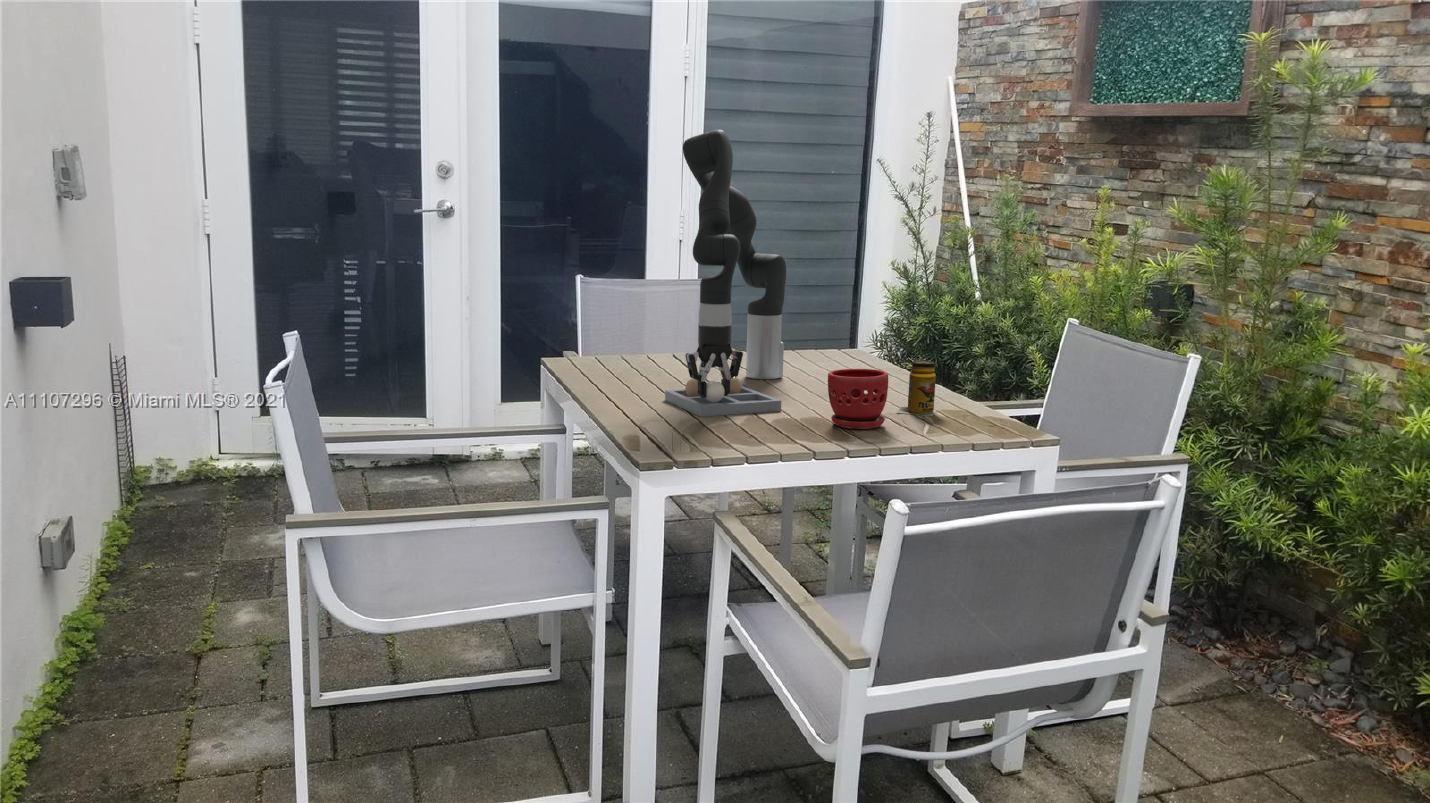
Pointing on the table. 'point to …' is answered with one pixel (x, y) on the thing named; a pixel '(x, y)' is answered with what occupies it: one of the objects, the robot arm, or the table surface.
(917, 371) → the condiment
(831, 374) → the plant pot
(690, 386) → the brown egg
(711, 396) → the pale egg
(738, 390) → the brown egg
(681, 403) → the egg tray
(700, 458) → the table surface
